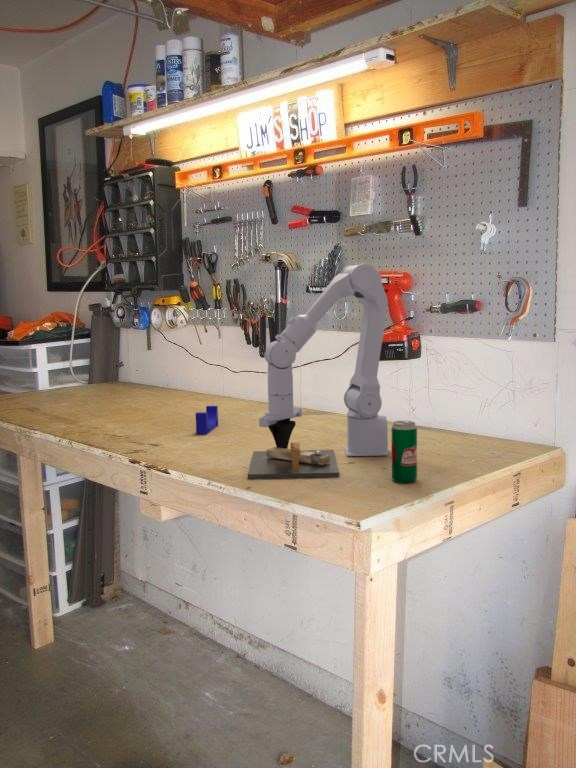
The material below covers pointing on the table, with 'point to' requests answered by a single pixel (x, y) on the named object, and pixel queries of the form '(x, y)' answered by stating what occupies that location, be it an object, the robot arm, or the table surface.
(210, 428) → the blue u-shaped block
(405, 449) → the soda can
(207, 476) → the table surface
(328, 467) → the base plate
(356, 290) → the robot arm
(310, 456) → the link
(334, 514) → the table surface
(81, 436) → the table surface
